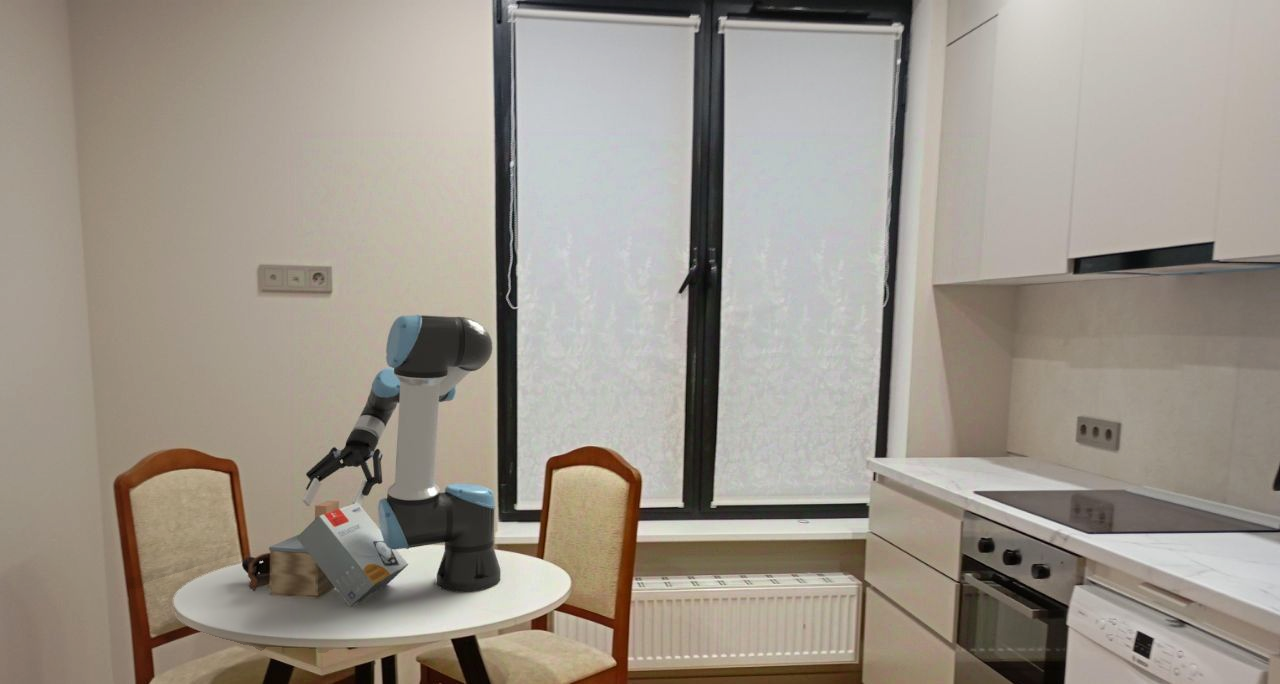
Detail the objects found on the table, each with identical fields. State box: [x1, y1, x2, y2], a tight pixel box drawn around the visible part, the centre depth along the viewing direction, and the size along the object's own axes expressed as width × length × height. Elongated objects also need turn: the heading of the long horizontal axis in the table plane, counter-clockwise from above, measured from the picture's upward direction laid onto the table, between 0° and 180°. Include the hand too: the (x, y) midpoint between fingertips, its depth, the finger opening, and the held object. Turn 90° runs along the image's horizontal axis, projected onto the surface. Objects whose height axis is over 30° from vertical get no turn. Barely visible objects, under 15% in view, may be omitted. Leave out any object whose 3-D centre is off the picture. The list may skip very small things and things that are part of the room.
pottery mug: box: [241, 552, 270, 592], centre depth 158 cm, size 12×10×8 cm
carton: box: [268, 551, 336, 599], centre depth 157 cm, size 12×14×10 cm
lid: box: [268, 500, 340, 553], centre depth 157 cm, size 13×14×8 cm
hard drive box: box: [297, 503, 409, 608], centre depth 152 cm, size 16×8×20 cm
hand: (330, 504), depth 165 cm, fingers open, 13 cm apart
